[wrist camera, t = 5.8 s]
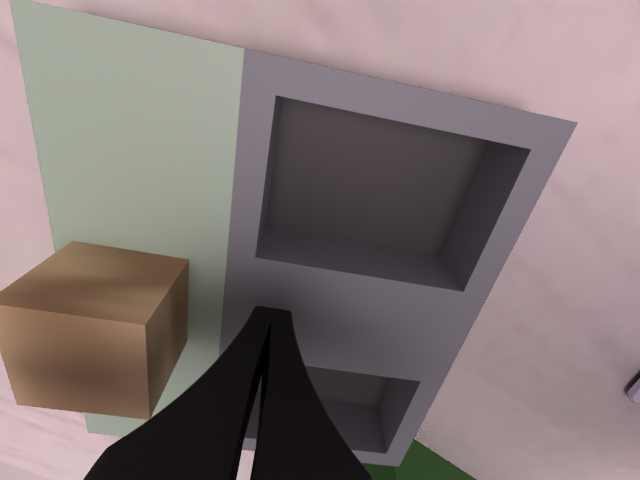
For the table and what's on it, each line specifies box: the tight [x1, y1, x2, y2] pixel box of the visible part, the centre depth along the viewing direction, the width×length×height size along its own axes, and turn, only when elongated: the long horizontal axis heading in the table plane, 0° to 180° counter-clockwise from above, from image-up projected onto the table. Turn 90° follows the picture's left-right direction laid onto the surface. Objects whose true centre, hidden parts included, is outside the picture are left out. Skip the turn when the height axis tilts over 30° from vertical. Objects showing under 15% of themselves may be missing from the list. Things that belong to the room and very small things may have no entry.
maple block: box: [0, 241, 189, 420], centre depth 11 cm, size 4×4×4 cm
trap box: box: [9, 0, 577, 467], centre depth 15 cm, size 16×18×3 cm
